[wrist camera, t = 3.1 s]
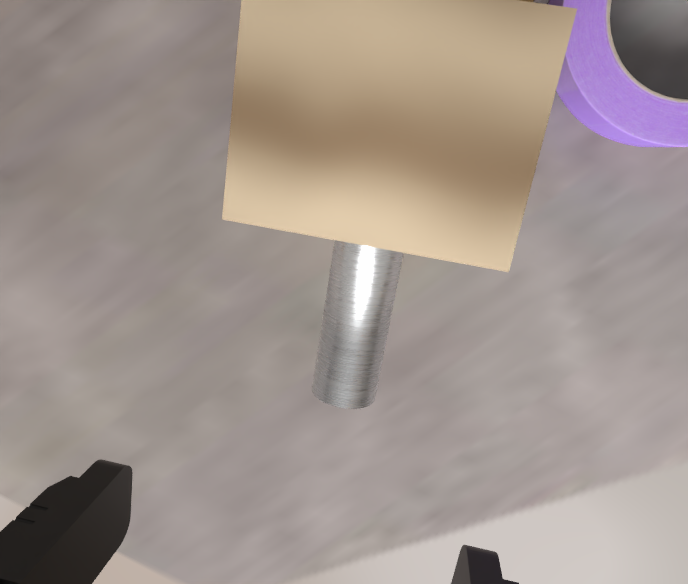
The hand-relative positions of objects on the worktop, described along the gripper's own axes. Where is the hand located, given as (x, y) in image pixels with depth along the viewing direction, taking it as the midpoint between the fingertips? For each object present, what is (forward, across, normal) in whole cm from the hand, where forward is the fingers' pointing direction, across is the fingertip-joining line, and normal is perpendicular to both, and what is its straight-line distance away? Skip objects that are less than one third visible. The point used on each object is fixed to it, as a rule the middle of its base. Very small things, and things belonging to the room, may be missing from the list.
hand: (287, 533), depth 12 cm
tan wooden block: (+20, 0, -10) cm, 22 cm away
